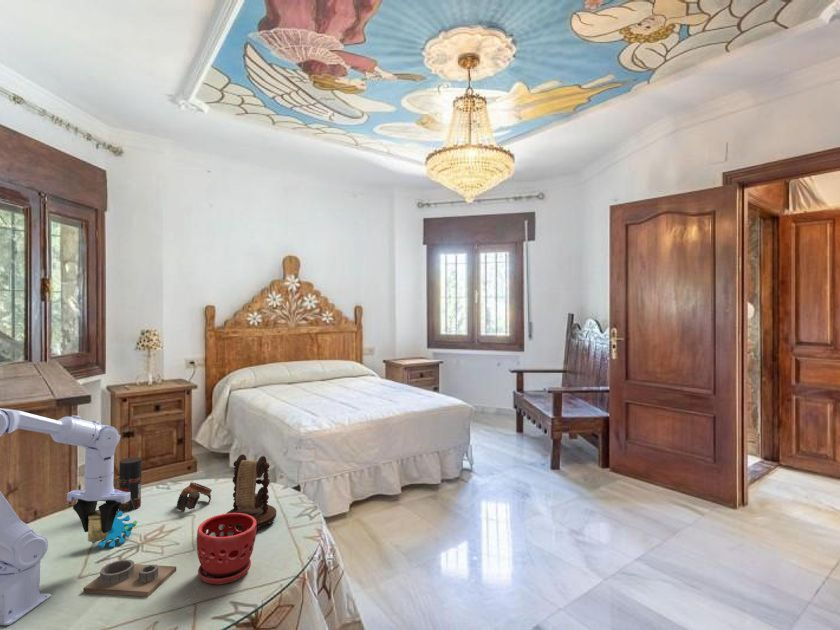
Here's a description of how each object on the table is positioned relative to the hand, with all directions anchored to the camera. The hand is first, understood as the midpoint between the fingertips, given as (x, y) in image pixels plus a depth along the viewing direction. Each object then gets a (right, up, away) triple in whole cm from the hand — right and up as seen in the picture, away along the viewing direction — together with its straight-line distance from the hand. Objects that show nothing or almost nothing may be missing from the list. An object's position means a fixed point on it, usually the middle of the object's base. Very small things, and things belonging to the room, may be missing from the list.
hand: (98, 530), depth 109 cm
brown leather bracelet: (+5, -10, +35) cm, 37 cm away
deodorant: (-14, -9, +34) cm, 37 cm away
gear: (-5, -9, +12) cm, 16 cm away
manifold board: (+12, -9, -5) cm, 16 cm away
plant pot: (+32, -10, -2) cm, 33 cm away
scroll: (+28, -10, +25) cm, 38 cm away
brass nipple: (0, -2, 0) cm, 2 cm away
